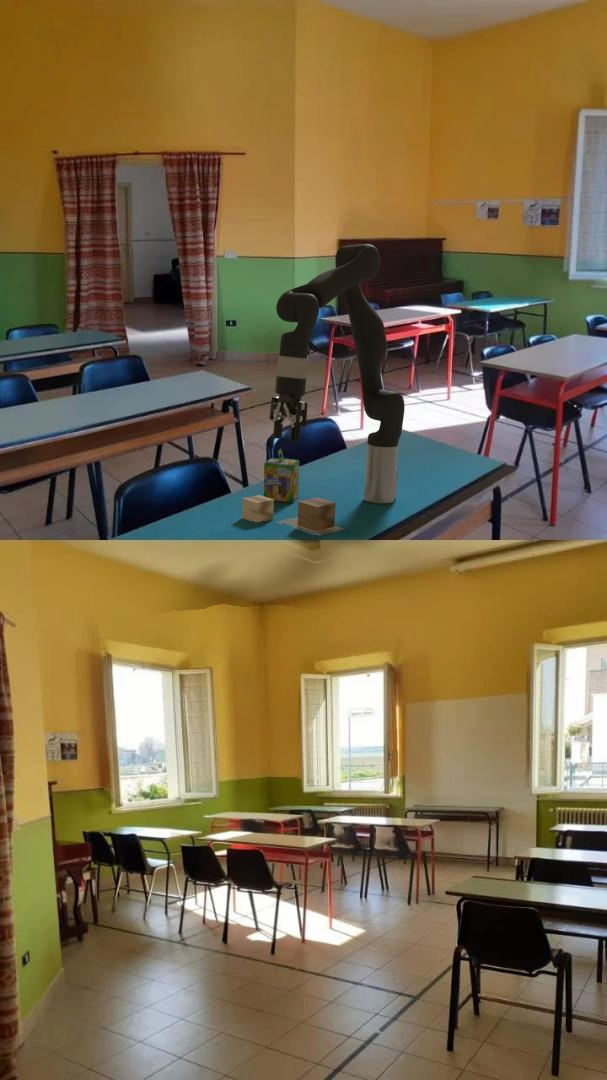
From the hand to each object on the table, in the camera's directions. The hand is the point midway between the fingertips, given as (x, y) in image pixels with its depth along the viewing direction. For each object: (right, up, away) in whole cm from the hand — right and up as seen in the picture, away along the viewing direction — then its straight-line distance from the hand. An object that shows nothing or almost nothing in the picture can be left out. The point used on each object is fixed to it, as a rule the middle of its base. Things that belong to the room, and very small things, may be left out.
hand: (285, 440), depth 211 cm
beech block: (-8, -20, +17) cm, 27 cm away
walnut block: (+8, -22, +11) cm, 26 cm away
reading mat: (+6, -22, +13) cm, 26 cm away
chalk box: (-2, -13, +40) cm, 42 cm away
